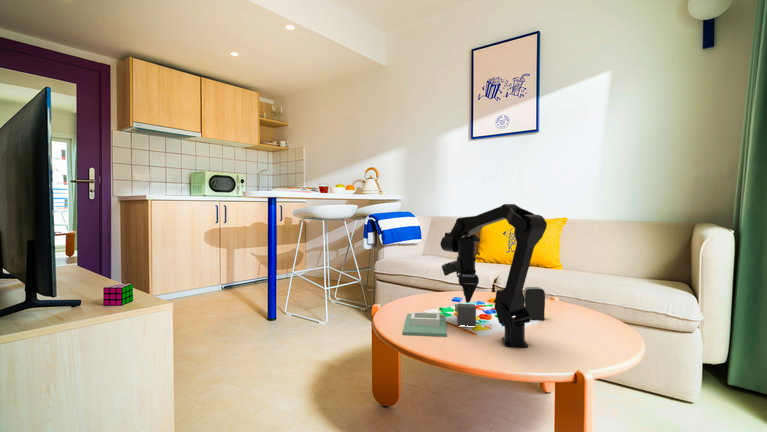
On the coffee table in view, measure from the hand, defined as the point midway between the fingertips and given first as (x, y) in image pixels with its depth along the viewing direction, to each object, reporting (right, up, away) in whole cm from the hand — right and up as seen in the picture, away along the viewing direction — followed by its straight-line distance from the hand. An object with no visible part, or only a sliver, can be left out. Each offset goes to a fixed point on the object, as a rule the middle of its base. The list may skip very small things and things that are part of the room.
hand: (466, 299), depth 127 cm
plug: (0, -9, 0) cm, 9 cm away
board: (-14, -9, 0) cm, 17 cm away
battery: (+26, -9, +8) cm, 29 cm away
